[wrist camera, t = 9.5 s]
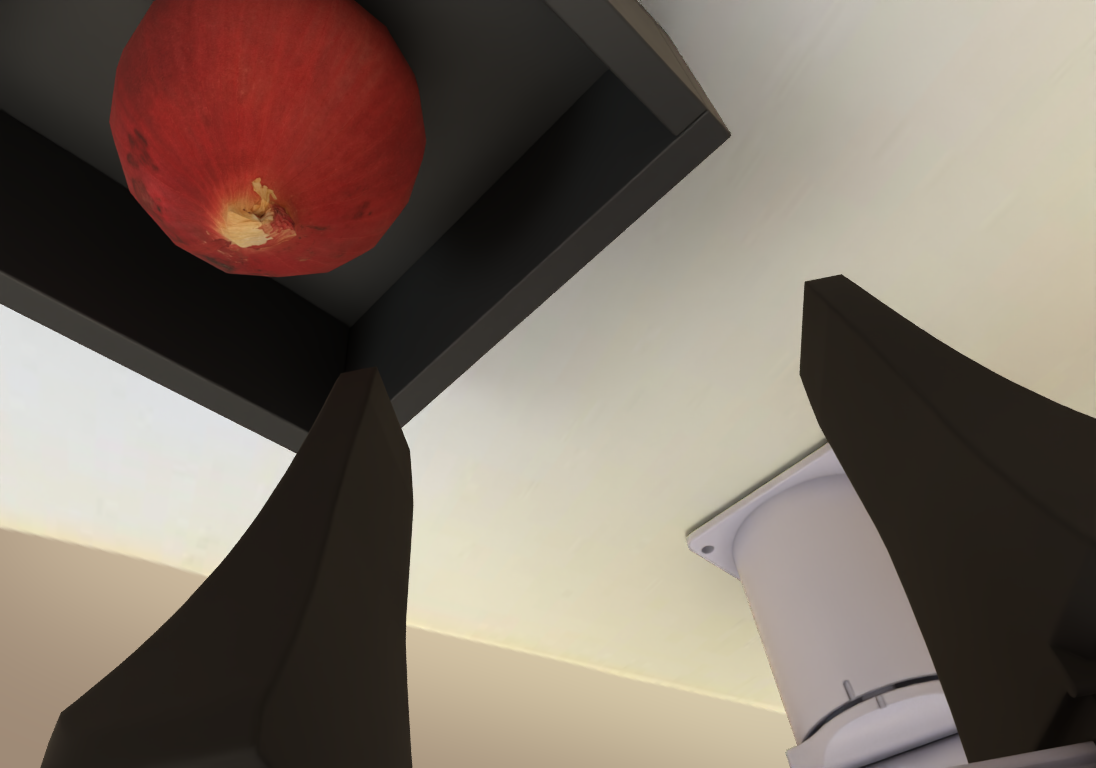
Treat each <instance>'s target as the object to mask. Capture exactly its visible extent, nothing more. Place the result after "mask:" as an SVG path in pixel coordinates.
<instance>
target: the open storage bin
mask: <svg viewBox="0 0 1096 768" xmlns="http://www.w3.org/2000/svg"><path fill="white" fill-rule="evenodd" d="M153 1H155V0H0V304H2V305H4V306H6V307H8V308H10V309H12V310H14V311H16V312H18V313H20V314H22V315H24V316H26V317H28V318H30V319H32V320H34V321H36V322H38V323H40V324H42V325H44V326H46V327H48V328H50V329H52V330H53V331H55V332H57V333H59V334H61V335H63V336H65V337H67V338H69V339H71V340H73V341H75V342H77V343H79V344H81V345H83V346H85V347H87V348H89V349H91V350H93V351H95V352H97V353H99V354H101V355H103V356H105V357H107V358H109V359H111V360H113V361H115V362H117V363H119V364H121V365H123V366H125V367H127V368H129V369H131V370H133V371H135V372H137V373H139V374H141V375H142V376H144V377H146V378H148V379H150V380H152V381H154V382H156V383H158V384H160V385H162V386H164V387H166V388H168V389H170V390H172V391H174V392H176V393H178V394H180V395H182V396H184V397H186V398H188V399H190V400H192V401H194V402H196V403H198V404H200V405H202V406H204V407H206V408H208V409H210V410H212V411H214V412H216V413H218V414H220V415H222V416H224V417H226V418H228V419H230V420H231V421H233V422H235V423H237V424H239V425H241V426H243V427H245V428H247V429H249V430H251V431H253V432H255V433H257V434H259V435H261V436H263V437H265V438H267V439H269V440H271V441H273V442H275V443H277V444H279V445H281V446H283V447H285V448H287V449H289V450H291V451H293V452H295V453H297V452H298V450H299V449H300V447H301V445H302V444H303V442H304V440H305V438H306V437H307V435H308V433H309V431H310V429H311V427H312V426H313V424H314V422H315V420H316V418H317V416H318V414H319V413H320V411H321V409H322V407H323V405H324V403H325V401H326V399H327V397H328V395H329V393H330V391H331V390H332V388H333V386H334V384H335V382H336V380H337V379H338V377H339V376H340V374H341V373H345V372H350V371H355V370H360V369H365V368H370V367H375V366H377V368H378V371H379V374H380V376H381V379H382V381H383V384H384V386H385V389H386V391H387V394H388V396H389V399H390V401H391V404H392V406H393V409H394V411H395V414H396V416H397V419H398V422H399V424H400V427H401V428H402V427H403V426H404V425H405V424H407V423H408V422H409V421H410V420H411V419H412V418H413V417H414V416H416V415H417V414H418V413H419V412H420V411H421V410H422V409H424V408H425V407H426V406H427V405H428V404H429V403H430V402H431V401H433V400H434V399H435V398H436V397H437V396H438V395H439V394H440V393H442V392H443V391H444V390H445V389H446V388H447V387H448V386H449V385H451V384H452V383H453V382H454V381H455V380H456V379H457V378H459V377H460V376H461V375H462V374H463V373H464V372H465V371H466V370H468V369H469V368H470V367H471V366H472V365H473V364H474V363H475V362H477V361H478V360H479V359H480V358H481V357H482V356H483V355H485V354H486V353H487V352H488V351H489V350H490V349H491V348H492V347H494V346H495V345H496V344H497V343H498V342H499V341H500V340H501V339H503V338H504V337H505V336H506V335H507V334H508V333H509V332H510V331H512V330H513V329H514V328H515V327H516V326H517V325H518V324H520V323H521V322H522V321H523V320H524V319H525V318H526V317H527V316H529V315H530V314H531V313H532V312H533V311H534V310H535V309H536V308H538V307H539V306H540V305H541V304H542V303H543V302H544V301H545V300H547V299H548V298H549V297H550V296H551V295H552V294H553V293H555V292H556V291H557V290H558V289H559V288H560V287H561V286H562V285H564V284H565V283H566V282H567V281H568V280H569V279H570V278H571V277H573V276H574V275H575V274H576V273H577V272H578V271H579V270H581V269H582V268H583V267H584V266H585V265H586V264H587V263H588V262H590V261H591V260H592V259H593V258H594V257H595V256H596V255H597V254H599V253H600V252H601V251H602V250H603V249H604V248H605V247H606V246H608V245H609V244H610V243H611V242H612V241H613V240H614V239H616V238H617V237H618V236H619V235H620V234H621V233H622V232H623V231H625V230H626V229H627V228H628V227H629V226H630V225H631V224H632V223H634V222H635V221H636V220H637V219H638V218H639V217H640V216H641V215H643V214H644V213H645V212H646V211H647V210H648V209H649V208H651V207H652V206H653V205H654V204H655V203H656V202H657V201H658V200H660V199H661V198H662V197H663V196H664V195H665V194H666V193H667V192H669V191H670V190H671V189H672V188H673V187H674V186H675V185H677V184H678V183H679V182H680V181H681V180H682V179H683V178H684V177H686V176H687V175H688V174H689V173H690V172H691V171H692V170H693V169H695V168H696V167H697V166H698V165H699V164H700V163H701V162H702V161H704V160H705V159H706V158H707V157H708V156H709V155H710V154H712V153H713V152H714V151H715V150H716V149H717V148H718V147H719V146H721V145H722V144H723V143H724V142H725V141H726V140H727V139H728V138H730V136H731V133H730V131H729V130H728V128H727V127H726V125H725V124H724V122H723V120H722V119H721V117H720V116H719V114H718V113H717V111H716V109H715V108H714V106H713V105H712V103H711V102H710V100H709V98H708V97H707V95H706V94H705V92H704V91H703V89H702V87H701V86H700V84H699V83H698V81H697V80H696V78H695V76H694V75H693V73H692V72H691V70H690V69H689V67H688V65H687V64H686V62H685V61H684V59H683V58H682V56H681V54H680V53H679V51H678V50H677V48H676V47H675V45H674V44H673V42H672V40H671V39H670V37H669V36H668V35H667V34H666V32H665V31H664V30H663V29H662V28H661V27H660V26H659V25H658V23H657V22H656V21H655V20H654V19H653V18H652V17H651V16H650V15H649V13H648V12H647V11H646V10H645V9H644V8H643V7H642V6H641V4H640V3H639V2H638V1H637V0H355V1H356V2H357V3H358V4H359V5H361V6H362V7H363V8H364V9H365V10H367V11H368V12H369V13H370V14H372V15H373V16H374V17H375V18H376V19H378V20H379V21H380V22H381V23H382V24H384V25H385V26H386V27H387V29H388V31H389V32H390V34H391V36H392V37H393V39H394V41H395V42H396V44H397V46H398V47H399V49H400V51H401V53H402V54H403V56H404V58H405V59H406V61H407V63H408V64H409V66H410V68H411V69H412V71H413V73H414V75H415V78H416V82H417V85H418V89H419V95H420V102H421V109H422V115H423V122H424V128H425V135H426V145H425V150H424V155H423V159H422V162H421V165H420V168H419V171H418V174H417V177H416V180H415V183H414V186H413V189H412V192H411V195H410V198H409V202H408V203H407V205H406V206H405V207H404V209H403V210H402V212H401V213H400V214H399V216H398V217H397V218H396V220H395V221H394V222H393V223H392V225H391V226H390V227H389V229H388V230H387V231H386V233H385V234H384V235H383V236H382V238H381V239H380V240H379V242H378V243H377V244H376V245H375V247H374V248H372V249H370V250H369V251H367V252H365V253H364V254H362V255H360V256H358V257H356V258H354V259H352V260H351V261H349V262H347V263H345V264H343V265H341V266H339V267H337V268H335V269H334V270H332V271H330V272H327V273H316V274H306V275H296V276H286V277H269V276H256V275H242V274H229V273H225V272H224V271H222V270H220V269H218V268H216V267H215V266H213V265H211V264H209V263H207V262H205V261H204V260H202V259H200V258H198V257H196V256H195V255H193V254H191V253H189V252H187V251H185V250H184V249H182V248H180V247H178V246H176V245H175V244H174V243H173V242H172V240H171V239H170V238H169V237H168V236H167V235H166V234H165V232H164V231H163V230H162V229H161V228H160V227H159V225H158V224H157V223H156V222H155V221H154V220H153V219H152V217H151V216H150V215H149V214H148V213H147V212H146V211H145V209H144V208H143V207H142V206H141V205H140V204H139V203H138V201H137V200H136V199H135V198H134V196H133V195H132V194H131V193H130V191H129V188H128V184H127V181H126V178H125V175H124V171H123V168H122V165H121V162H120V158H119V155H118V152H117V149H116V146H115V142H114V139H113V135H112V131H111V127H110V123H109V120H110V113H111V105H112V98H113V91H114V84H115V76H116V69H117V66H118V63H119V60H120V57H121V55H122V52H123V49H124V48H125V46H126V44H127V43H128V41H129V40H130V38H131V36H132V35H133V33H134V32H135V30H136V28H137V27H138V25H139V24H140V22H141V20H142V19H143V17H144V16H145V14H146V12H147V11H148V9H149V8H150V6H151V4H152V3H153Z"/></svg>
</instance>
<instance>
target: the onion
mask: <svg viewBox="0 0 1096 768" xmlns="http://www.w3.org/2000/svg"><path fill="white" fill-rule="evenodd" d="M109 123H110V127H111V131H112V135H113V139H114V142H115V146H116V149H117V152H118V155H119V158H120V162H121V165H122V168H123V171H124V175H125V178H126V181H127V184H128V188H129V191H130V193H131V194H132V195H133V196H134V198H135V199H136V200H137V201H138V203H139V204H140V205H141V206H142V207H143V208H144V209H145V211H146V212H147V213H148V214H149V215H150V216H151V217H152V219H153V220H154V221H155V222H156V223H157V224H158V225H159V227H160V228H161V229H162V230H163V231H164V232H165V234H166V235H167V236H168V237H169V238H170V239H171V240H172V242H173V243H174V244H175V245H176V246H178V247H180V248H182V249H184V250H185V251H187V252H189V253H191V254H193V255H195V256H196V257H198V258H200V259H202V260H204V261H205V262H207V263H209V264H211V265H213V266H215V267H216V268H218V269H220V270H222V271H224V272H225V273H229V274H242V275H256V276H269V277H286V276H296V275H306V274H316V273H327V272H330V271H332V270H334V269H335V268H337V267H339V266H341V265H343V264H345V263H347V262H349V261H351V260H352V259H354V258H356V257H358V256H360V255H362V254H364V253H365V252H367V251H369V250H370V249H372V248H374V247H375V245H376V244H377V243H378V242H379V240H380V239H381V238H382V236H383V235H384V234H385V233H386V231H387V230H388V229H389V227H390V226H391V225H392V223H393V222H394V221H395V220H396V218H397V217H398V216H399V214H400V213H401V212H402V210H403V209H404V207H405V206H406V205H407V203H408V202H409V198H410V195H411V192H412V189H413V186H414V183H415V180H416V177H417V174H418V171H419V168H420V165H421V162H422V159H423V155H424V150H425V145H426V135H425V128H424V122H423V115H422V109H421V102H420V95H419V89H418V85H417V82H416V78H415V75H414V73H413V71H412V69H411V68H410V66H409V64H408V63H407V61H406V59H405V58H404V56H403V54H402V53H401V51H400V49H399V47H398V46H397V44H396V42H395V41H394V39H393V37H392V36H391V34H390V32H389V31H388V29H387V27H386V26H385V25H384V24H382V23H381V22H380V21H379V20H378V19H376V18H375V17H374V16H373V15H372V14H370V13H369V12H368V11H367V10H365V9H364V8H363V7H362V6H361V5H359V4H358V3H357V2H356V1H355V0H155V1H153V3H152V4H151V6H150V8H149V9H148V11H147V12H146V14H145V16H144V17H143V19H142V20H141V22H140V24H139V25H138V27H137V28H136V30H135V32H134V33H133V35H132V36H131V38H130V40H129V41H128V43H127V44H126V46H125V48H124V49H123V52H122V55H121V57H120V60H119V63H118V66H117V69H116V76H115V84H114V91H113V98H112V105H111V113H110V120H109Z"/></svg>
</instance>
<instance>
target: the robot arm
mask: <svg viewBox="0 0 1096 768" xmlns="http://www.w3.org/2000/svg"><path fill="white" fill-rule="evenodd" d="M800 377H801V379H802V382H803V385H804V388H805V390H806V393H807V396H808V398H809V401H810V404H811V406H812V409H813V411H814V414H815V416H816V419H817V421H818V424H819V426H820V428H821V429H822V431H823V433H824V435H825V437H826V439H827V441H828V443H827V444H825V445H824V446H822V447H821V448H819V449H818V450H816V451H814V452H813V453H811V454H810V455H808V456H807V457H805V458H804V459H802V460H801V461H799V462H798V463H796V464H795V465H793V466H792V467H790V468H789V469H787V470H786V471H784V472H783V473H781V474H780V475H778V476H777V477H775V478H774V479H772V480H770V481H769V482H767V483H766V484H764V485H763V486H761V487H760V488H758V489H757V490H755V491H754V492H752V493H751V494H749V495H748V496H746V497H745V498H743V499H742V500H740V501H739V502H737V503H736V504H734V505H733V506H731V507H729V508H728V509H726V510H725V511H723V512H722V513H720V514H719V515H717V516H716V517H714V518H713V519H711V520H710V521H708V522H707V523H705V524H704V525H702V526H701V527H699V528H698V529H696V530H695V531H693V532H692V533H690V534H689V535H688V536H687V538H686V542H687V545H688V548H689V549H690V550H691V551H693V552H694V553H696V554H697V555H699V556H701V557H702V558H704V559H706V560H707V561H709V562H711V563H712V564H714V565H715V566H717V567H719V568H720V569H722V570H724V571H725V572H727V573H729V574H730V575H732V576H733V577H735V578H737V579H738V580H740V581H741V582H742V585H743V588H744V591H745V594H746V597H747V600H748V603H749V606H750V609H751V611H752V614H753V617H754V620H755V623H756V626H757V629H758V632H759V635H760V638H761V641H762V644H763V647H764V649H765V652H766V655H767V658H768V661H769V664H770V667H771V670H772V673H773V676H774V679H775V682H776V684H777V687H778V690H779V693H780V696H781V699H782V702H783V705H784V708H785V711H786V714H787V717H788V719H789V722H790V725H791V728H792V731H793V734H794V737H795V740H796V743H797V746H795V747H792V748H790V749H788V750H786V752H785V753H786V756H787V759H788V762H789V765H790V768H1096V418H1093V417H1090V416H1088V415H1085V414H1083V413H1080V412H1077V411H1075V410H1073V409H1070V408H1068V407H1066V406H1063V405H1061V404H1059V403H1056V402H1054V401H1052V400H1050V399H1048V398H1046V397H1043V396H1041V395H1039V394H1037V393H1035V392H1033V391H1031V390H1029V389H1026V388H1024V387H1022V386H1020V385H1018V384H1016V383H1014V382H1012V381H1010V380H1008V379H1006V378H1004V377H1002V376H1000V375H998V374H996V373H995V372H993V371H991V370H989V369H987V368H986V367H984V366H982V365H980V364H979V363H977V362H975V361H973V360H971V359H970V358H968V357H966V356H964V355H963V354H961V353H959V352H958V351H956V350H954V349H953V348H951V347H949V346H948V345H946V344H944V343H943V342H941V341H940V340H938V339H936V338H935V337H933V336H932V335H930V334H929V333H927V332H925V331H924V330H922V329H921V328H919V327H918V326H916V325H915V324H913V323H912V322H910V321H909V320H907V319H906V318H904V317H903V316H901V315H900V314H898V313H897V312H895V311H894V310H893V309H891V308H890V307H888V306H887V305H885V304H884V303H882V302H881V301H879V300H878V299H877V298H875V297H874V296H872V295H871V294H869V293H868V292H867V291H865V290H864V289H862V288H861V287H859V286H858V285H857V284H855V283H854V282H852V281H851V280H849V279H848V278H846V277H845V276H843V275H842V274H841V275H836V276H831V277H826V278H821V279H816V280H811V281H806V282H805V284H804V302H803V321H802V339H801V357H800ZM412 520H413V487H412V472H411V459H410V449H409V447H408V444H407V442H406V439H405V437H404V434H403V432H402V429H401V427H400V424H399V422H398V419H397V416H396V414H395V411H394V409H393V406H392V404H391V401H390V399H389V396H388V394H387V391H386V389H385V386H384V384H383V381H382V379H381V376H380V374H379V371H378V368H377V366H375V367H370V368H365V369H360V370H355V371H350V372H345V373H341V374H340V376H339V377H338V379H337V380H336V382H335V384H334V386H333V388H332V390H331V391H330V393H329V395H328V397H327V399H326V401H325V403H324V405H323V407H322V409H321V411H320V413H319V414H318V416H317V418H316V420H315V422H314V424H313V426H312V427H311V429H310V431H309V433H308V435H307V437H306V438H305V440H304V442H303V444H302V445H301V447H300V449H299V450H298V452H297V454H296V456H295V457H294V459H293V461H292V463H291V464H290V466H289V468H288V469H287V471H286V473H285V474H284V476H283V477H282V479H281V481H280V482H279V484H278V485H277V487H276V488H275V490H274V491H273V493H272V494H271V496H270V497H269V499H268V500H267V502H266V504H265V505H264V507H263V508H262V510H261V511H260V513H259V514H258V515H257V517H256V518H255V520H254V521H253V522H252V524H251V525H250V527H249V528H248V529H247V531H246V532H245V533H244V535H243V536H242V537H241V539H240V540H239V541H238V543H237V544H236V545H235V546H234V548H233V549H232V550H231V551H230V553H229V554H228V555H227V556H226V558H225V559H224V560H223V561H222V562H221V564H220V565H219V566H218V567H217V568H216V569H215V570H214V571H213V573H212V574H211V575H210V576H209V577H208V578H207V579H206V580H205V581H204V582H203V584H202V585H201V586H200V587H199V588H198V589H197V590H196V591H195V592H194V593H193V595H192V596H191V597H190V598H189V599H188V600H187V601H186V602H185V604H183V606H181V608H180V609H179V610H178V611H177V612H176V613H175V614H174V615H173V616H172V617H171V618H170V619H168V621H167V622H166V623H164V624H163V625H162V626H161V627H160V628H159V629H158V630H157V631H156V632H155V633H154V634H153V635H152V636H151V637H150V638H149V639H148V640H147V641H145V642H144V643H143V644H142V645H141V646H140V647H139V648H138V649H137V650H136V651H135V652H134V653H132V654H131V655H130V656H129V657H128V658H127V659H126V660H125V661H123V662H122V663H121V664H120V665H119V666H118V667H116V668H115V669H114V670H113V671H112V672H110V673H109V674H108V675H107V676H106V677H104V678H103V679H102V680H101V681H100V682H98V683H97V684H96V685H95V686H94V687H92V688H91V689H90V690H89V691H88V692H86V693H85V694H84V695H83V696H81V697H80V698H79V699H78V700H77V701H75V702H74V703H73V704H71V705H70V706H69V707H68V708H66V709H65V710H64V711H63V712H61V714H60V716H59V719H58V721H57V724H56V726H55V728H54V731H53V733H52V736H51V738H50V741H49V743H48V746H47V749H46V752H45V756H44V758H43V762H42V765H41V768H412V756H411V743H410V725H409V707H408V689H407V664H406V612H407V597H408V582H409V567H410V552H411V537H412Z"/></svg>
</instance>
